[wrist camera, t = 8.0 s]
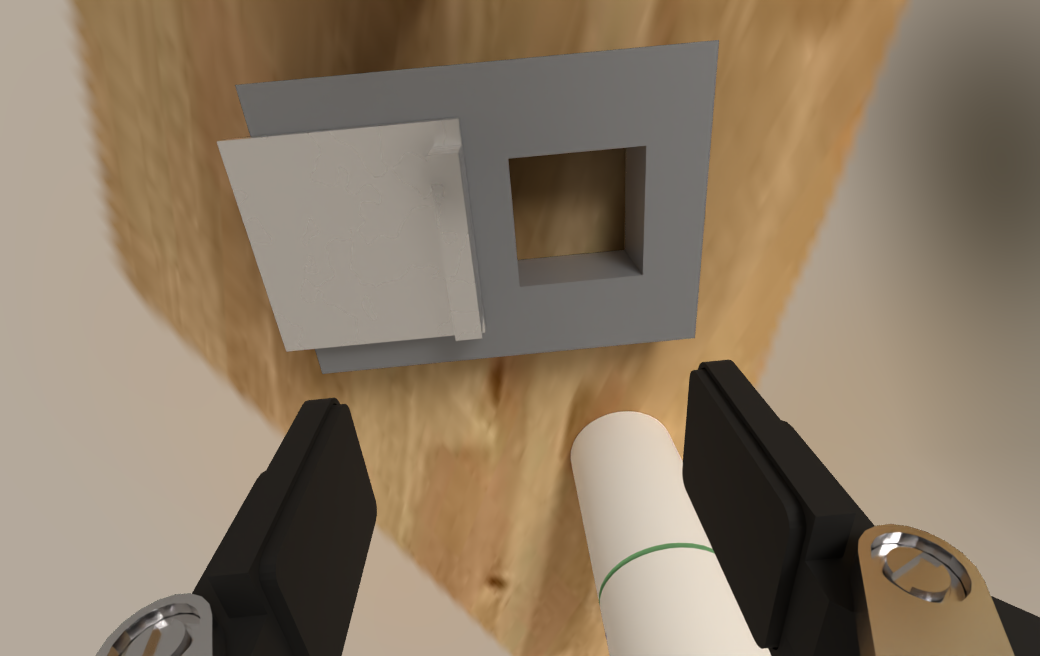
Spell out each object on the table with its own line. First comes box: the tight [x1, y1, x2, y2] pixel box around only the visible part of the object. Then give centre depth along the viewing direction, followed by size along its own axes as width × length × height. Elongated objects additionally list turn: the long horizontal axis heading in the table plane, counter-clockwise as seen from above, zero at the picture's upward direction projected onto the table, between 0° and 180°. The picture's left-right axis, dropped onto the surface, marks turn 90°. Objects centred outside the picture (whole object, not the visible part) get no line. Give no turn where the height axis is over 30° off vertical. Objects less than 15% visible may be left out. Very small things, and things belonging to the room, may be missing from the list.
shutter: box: [217, 117, 486, 352], centre depth 23 cm, size 10×10×3 cm
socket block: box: [235, 40, 719, 374], centre depth 26 cm, size 14×20×4 cm
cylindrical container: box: [571, 411, 771, 656], centre depth 25 cm, size 7×7×25 cm
